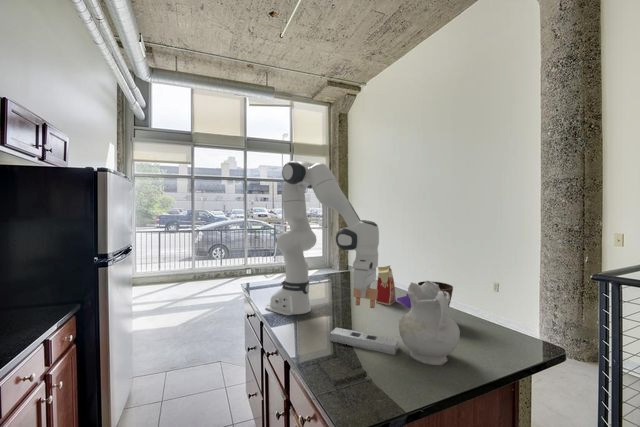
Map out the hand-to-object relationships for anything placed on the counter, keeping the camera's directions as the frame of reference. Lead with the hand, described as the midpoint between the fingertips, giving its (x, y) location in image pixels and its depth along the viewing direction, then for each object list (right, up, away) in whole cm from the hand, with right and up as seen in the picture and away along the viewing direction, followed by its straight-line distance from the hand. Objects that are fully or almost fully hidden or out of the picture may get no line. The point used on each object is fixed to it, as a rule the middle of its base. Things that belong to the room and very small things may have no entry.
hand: (365, 295), depth 120 cm
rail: (-2, -15, -10) cm, 18 cm away
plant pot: (+34, -16, +15) cm, 40 cm away
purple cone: (+29, -16, +40) cm, 51 cm away
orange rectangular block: (0, -4, 0) cm, 4 cm away
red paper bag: (+17, -15, +42) cm, 47 cm away
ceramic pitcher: (+19, -16, -20) cm, 31 cm away
